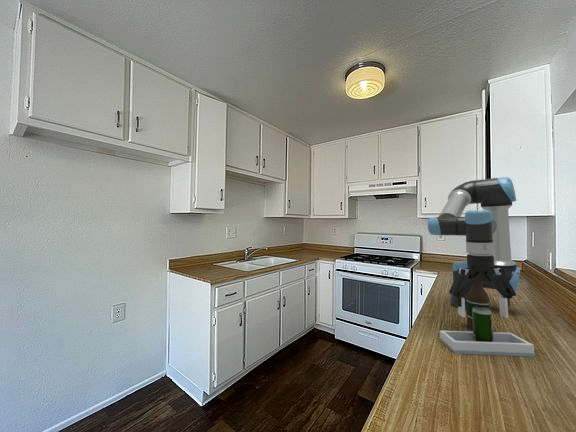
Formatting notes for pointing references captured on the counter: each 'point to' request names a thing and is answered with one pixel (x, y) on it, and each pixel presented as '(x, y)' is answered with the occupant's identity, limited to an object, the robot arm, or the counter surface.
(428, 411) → the counter surface
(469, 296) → the beer bottle
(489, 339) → the beer can
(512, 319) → the counter surface
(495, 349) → the tray
